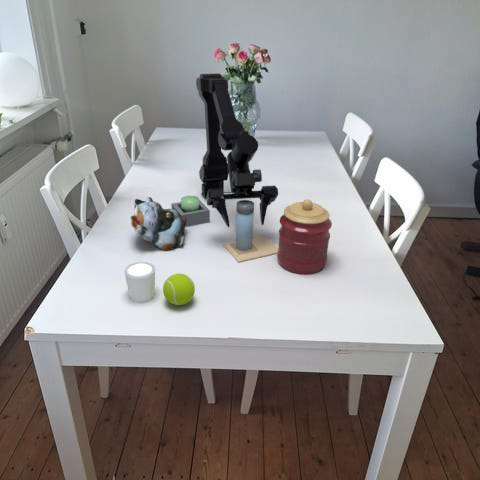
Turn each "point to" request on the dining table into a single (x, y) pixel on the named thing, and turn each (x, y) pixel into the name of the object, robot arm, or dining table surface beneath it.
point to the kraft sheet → (253, 249)
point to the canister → (304, 237)
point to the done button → (189, 204)
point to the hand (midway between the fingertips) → (245, 225)
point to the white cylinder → (140, 281)
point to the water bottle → (244, 225)
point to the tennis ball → (179, 289)
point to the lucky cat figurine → (158, 224)
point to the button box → (194, 214)
